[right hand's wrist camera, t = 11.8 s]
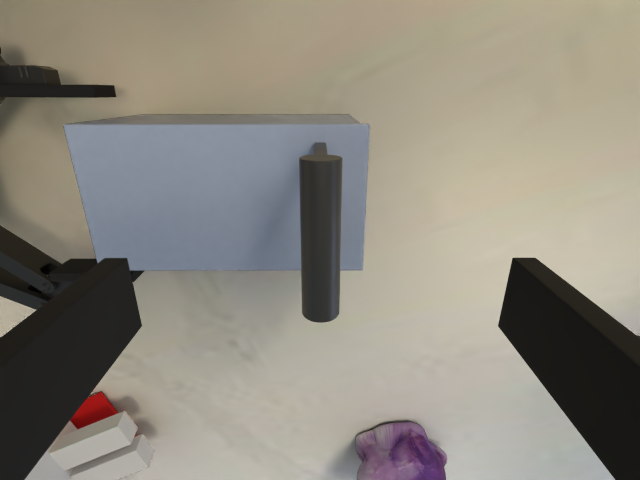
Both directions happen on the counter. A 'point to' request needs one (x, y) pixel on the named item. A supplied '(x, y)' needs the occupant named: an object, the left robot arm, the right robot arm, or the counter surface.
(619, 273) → the counter surface
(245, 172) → the door
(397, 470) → the figurine
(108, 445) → the toy
